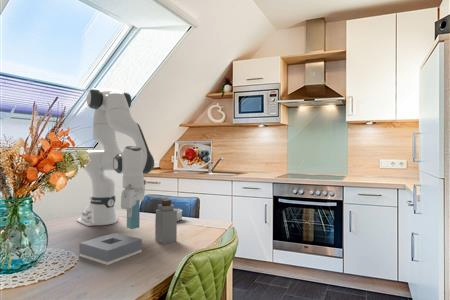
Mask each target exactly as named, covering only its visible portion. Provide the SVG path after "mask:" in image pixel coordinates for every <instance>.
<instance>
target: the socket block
mask: <svg viewBox="0 0 450 300" xmlns="http://www.w3.org/2000/svg"><path fill="white" fill-rule="evenodd" d="M140 253H143V238H138V237H135V236H131V235H125V234H120V233H118V232H117V233H116V232H113V233H109V234H106V235H103V236H99V237H95V238H91V239H88V240H84V241H81V242H79V257H81V258H84V259H87V260H90V261H93V262H97V263H100V264H103V265H106V266H108V265H111V264H112V265H113V264H114V263H117V262H119V261H122V260H124V259H125V260H126V259H127V258H130V257H132V256H134V255H138V254H140Z"/></svg>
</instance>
